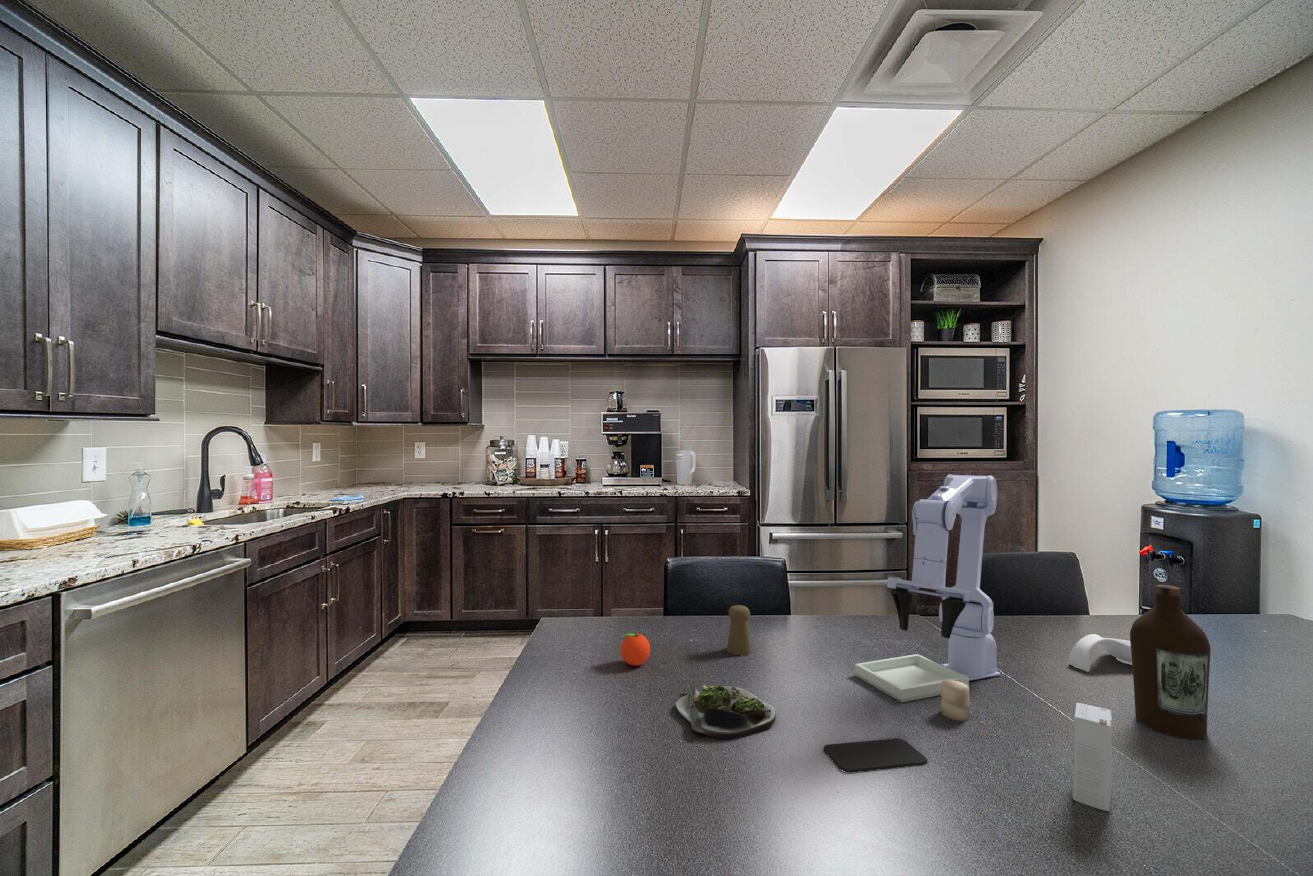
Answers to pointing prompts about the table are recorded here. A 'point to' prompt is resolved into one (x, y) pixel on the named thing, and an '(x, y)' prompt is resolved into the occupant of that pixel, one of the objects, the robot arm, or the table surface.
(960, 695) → the beige rounded cylinder
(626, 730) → the table surface
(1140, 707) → the brown liquor bottle
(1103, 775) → the skincare box
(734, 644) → the cork
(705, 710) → the salad plate
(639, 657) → the clementine
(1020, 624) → the table surface
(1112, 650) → the white curved arch piece
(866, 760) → the phone
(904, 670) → the tray
